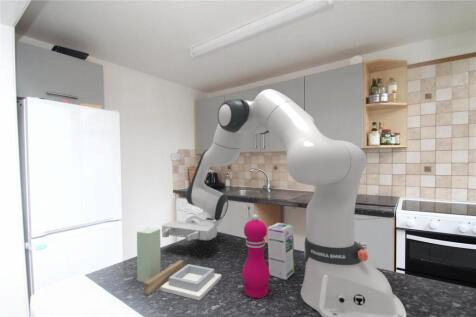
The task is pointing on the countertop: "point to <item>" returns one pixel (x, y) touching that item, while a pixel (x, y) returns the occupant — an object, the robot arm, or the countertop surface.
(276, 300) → the countertop surface
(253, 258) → the pepper mill
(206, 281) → the grey keeper socket
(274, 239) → the syrup box
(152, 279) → the oak board
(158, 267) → the sage bar
